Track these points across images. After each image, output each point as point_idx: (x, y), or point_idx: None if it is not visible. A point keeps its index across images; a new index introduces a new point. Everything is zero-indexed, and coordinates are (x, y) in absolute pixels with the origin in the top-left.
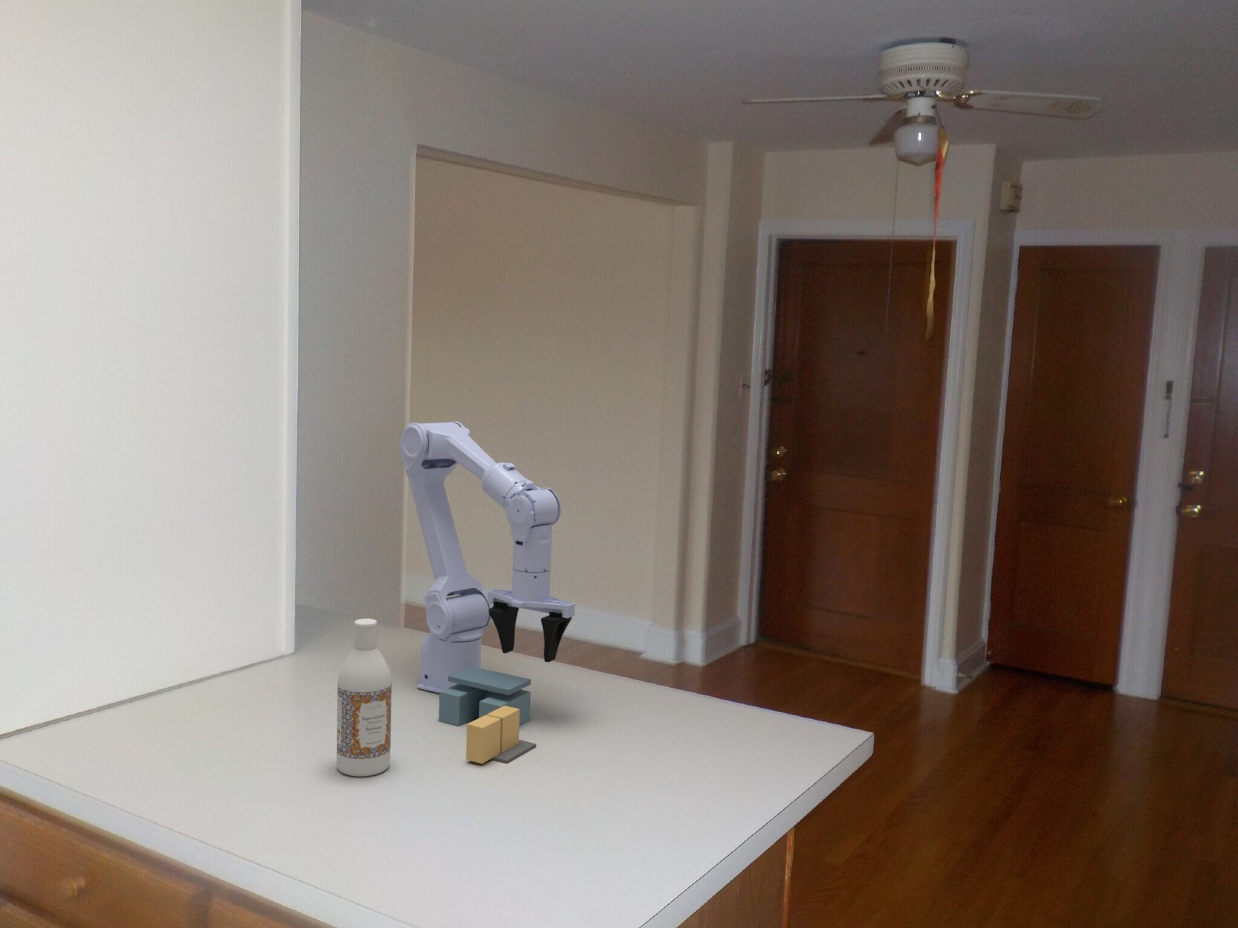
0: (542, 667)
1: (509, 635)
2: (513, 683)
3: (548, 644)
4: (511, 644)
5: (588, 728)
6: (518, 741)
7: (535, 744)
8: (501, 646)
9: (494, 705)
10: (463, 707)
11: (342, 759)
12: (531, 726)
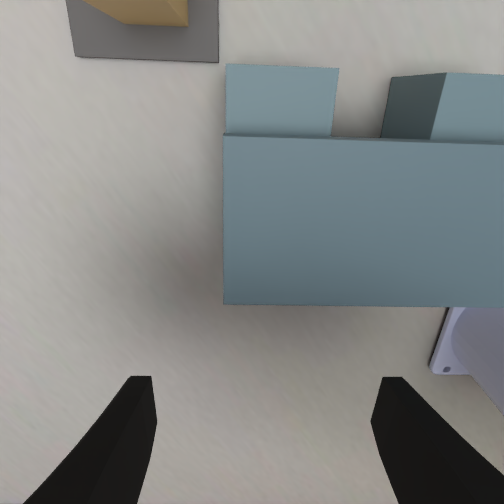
0: (371, 487)
1: (417, 485)
2: (254, 226)
3: (69, 462)
4: (385, 440)
5: (68, 269)
6: (123, 22)
7: (74, 50)
8: (422, 398)
9: (258, 66)
10: (411, 104)
11: None
12: (198, 201)
